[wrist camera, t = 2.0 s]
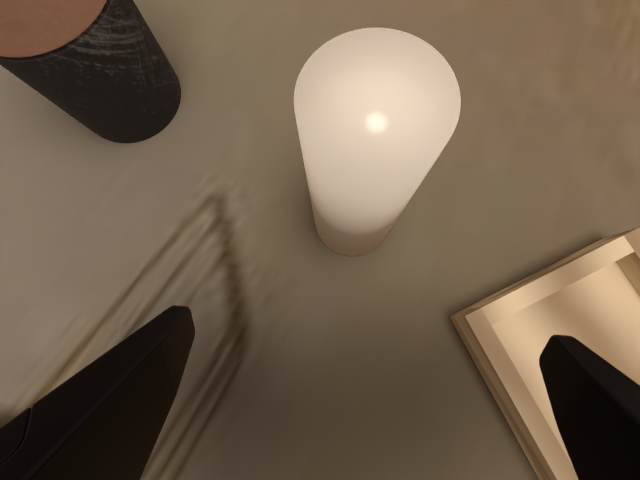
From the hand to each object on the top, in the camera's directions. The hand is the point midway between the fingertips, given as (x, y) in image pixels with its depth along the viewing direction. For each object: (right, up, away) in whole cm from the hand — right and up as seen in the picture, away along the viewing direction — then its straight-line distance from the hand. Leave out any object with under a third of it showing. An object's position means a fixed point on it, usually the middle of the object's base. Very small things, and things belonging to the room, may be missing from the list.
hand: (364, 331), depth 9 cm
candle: (+1, +4, +14) cm, 15 cm away
